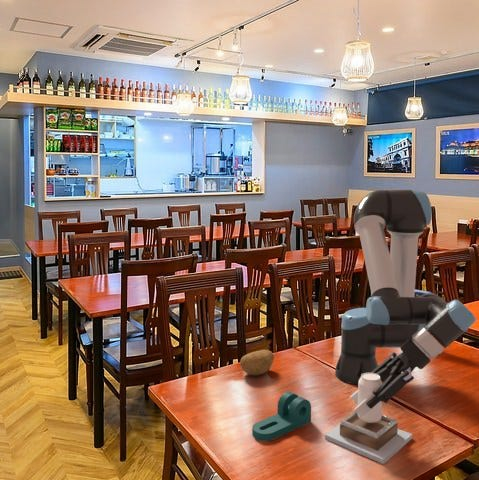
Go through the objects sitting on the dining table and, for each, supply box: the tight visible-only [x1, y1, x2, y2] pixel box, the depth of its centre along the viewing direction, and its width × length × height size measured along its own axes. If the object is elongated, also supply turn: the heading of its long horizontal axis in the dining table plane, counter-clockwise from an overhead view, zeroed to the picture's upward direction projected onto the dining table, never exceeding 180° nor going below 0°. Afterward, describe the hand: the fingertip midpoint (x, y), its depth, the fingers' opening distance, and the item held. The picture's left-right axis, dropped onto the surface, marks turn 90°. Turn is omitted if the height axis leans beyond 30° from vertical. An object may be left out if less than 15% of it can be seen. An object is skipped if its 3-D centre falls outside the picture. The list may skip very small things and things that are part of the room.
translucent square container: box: [339, 416, 399, 451], centre depth 132 cm, size 11×11×3 cm
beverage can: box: [357, 373, 384, 423], centre depth 130 cm, size 6×6×12 cm
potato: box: [239, 349, 275, 376], centre depth 174 cm, size 10×14×8 cm
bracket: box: [251, 391, 312, 442], centre depth 137 cm, size 18×7×8 cm, turn 128°
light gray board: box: [324, 423, 413, 465], centre depth 132 cm, size 17×16×1 cm
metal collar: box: [340, 410, 398, 439], centre depth 131 cm, size 11×11×1 cm
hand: (355, 406), depth 131 cm, fingers closed on beverage can, 6 cm apart
